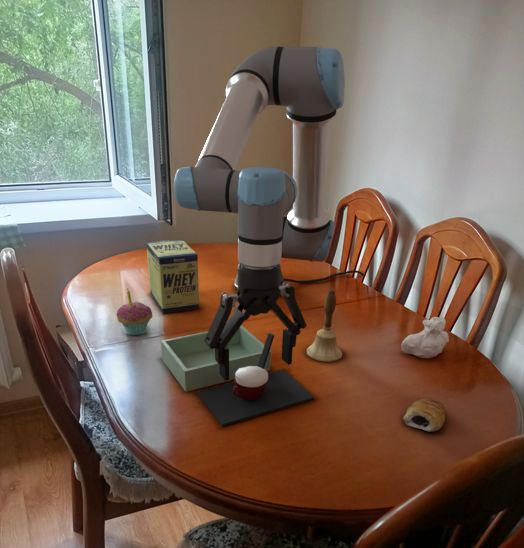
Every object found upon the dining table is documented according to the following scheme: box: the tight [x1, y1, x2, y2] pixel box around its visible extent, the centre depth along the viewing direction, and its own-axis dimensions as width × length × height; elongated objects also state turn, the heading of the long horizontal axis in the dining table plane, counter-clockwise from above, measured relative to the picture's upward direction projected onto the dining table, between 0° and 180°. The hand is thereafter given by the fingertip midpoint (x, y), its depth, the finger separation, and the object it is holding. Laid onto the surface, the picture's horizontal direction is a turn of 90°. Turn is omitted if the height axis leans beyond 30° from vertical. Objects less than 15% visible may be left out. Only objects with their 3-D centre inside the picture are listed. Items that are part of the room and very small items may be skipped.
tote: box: [160, 324, 272, 393], centre depth 108 cm, size 20×15×5 cm
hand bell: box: [306, 288, 343, 363], centre depth 111 cm, size 8×8×16 cm
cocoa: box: [232, 332, 275, 400], centre depth 95 cm, size 10×6×12 cm, turn 111°
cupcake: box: [116, 288, 153, 336], centre depth 120 cm, size 9×8×12 cm
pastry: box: [403, 397, 447, 433], centre depth 93 cm, size 9×7×4 cm
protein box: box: [145, 239, 200, 315], centre depth 136 cm, size 10×16×16 cm
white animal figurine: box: [400, 316, 450, 359], centre depth 113 cm, size 12×8×11 cm
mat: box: [196, 369, 315, 427], centre depth 98 cm, size 20×12×1 cm, turn 119°
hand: (256, 369), depth 95 cm, fingers open, 13 cm apart
